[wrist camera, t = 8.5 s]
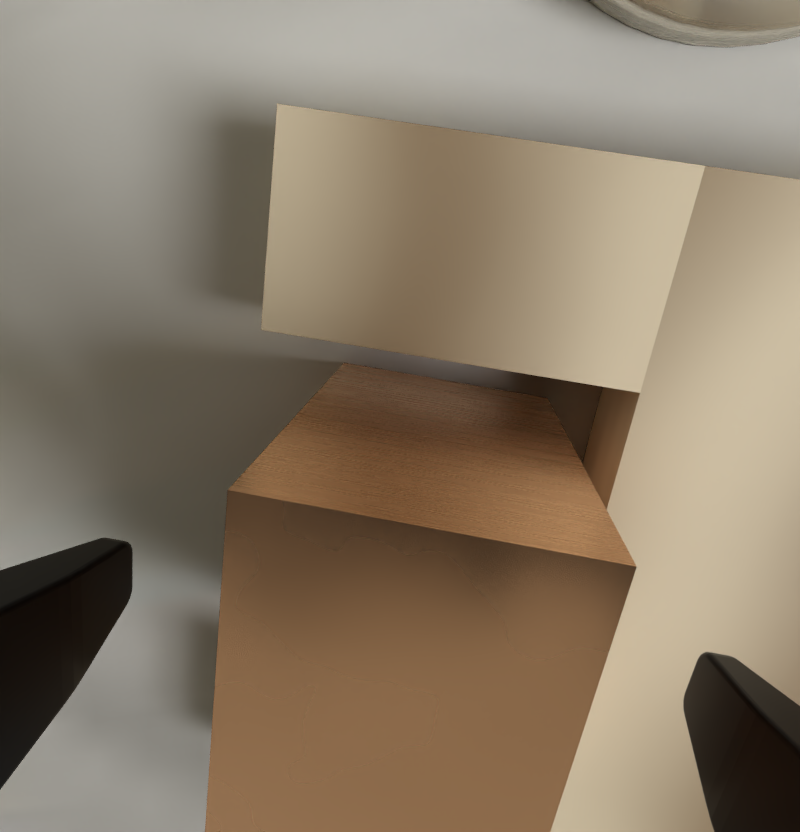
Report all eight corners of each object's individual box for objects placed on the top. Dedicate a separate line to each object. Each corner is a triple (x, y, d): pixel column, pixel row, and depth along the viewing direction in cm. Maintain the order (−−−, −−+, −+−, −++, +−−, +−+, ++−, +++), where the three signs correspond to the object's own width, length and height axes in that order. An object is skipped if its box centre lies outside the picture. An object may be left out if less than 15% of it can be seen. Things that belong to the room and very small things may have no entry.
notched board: (1285, 272, 9) (1498, 281, 7) (917, 877, 14) (991, 981, 12) (311, 128, 10) (277, 104, 8) (256, 742, 14) (225, 819, 12)
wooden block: (546, 397, 11) (636, 566, 5) (485, 649, 13) (504, 972, 7) (344, 362, 11) (227, 489, 6) (312, 615, 13) (200, 903, 8)
